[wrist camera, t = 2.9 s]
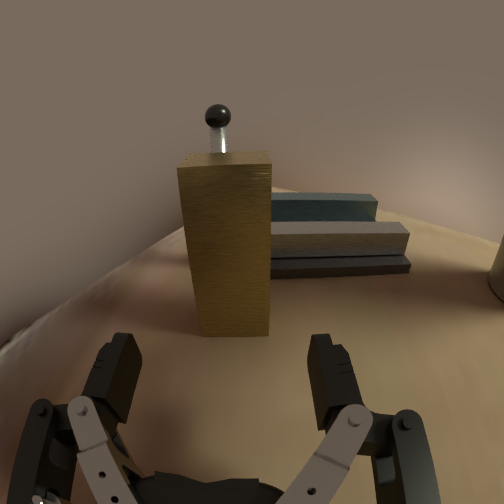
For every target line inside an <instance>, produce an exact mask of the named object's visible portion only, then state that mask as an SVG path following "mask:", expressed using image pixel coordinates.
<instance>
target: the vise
mask: <svg viewBox="0 0 504 504" xmlns="http://www.w3.org/2000/svg"><path fill="white" fill-rule="evenodd" d="M377 205H378V201H377V200H376V199H375V198H374V197H373V196H372V195H371V194H351V193H271V222H315V221H350V222H376V221H375V217H376V211H377ZM410 267H411V263H410V262H409V260H408V259H407V258H406V257H405V255H404V254H390V255H357V256H320V257H281V258H271V262H270V279H284V278H313V277H337V276H358V275H377V274H395V273H409V270H410Z"/></svg>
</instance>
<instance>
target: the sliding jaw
mask: <svg viewBox="0 0 504 504" xmlns="http://www.w3.org/2000/svg"><path fill="white" fill-rule="evenodd" d="M230 120H231V113H230V111H229V109H228V108H227V107H226V106H224V105H221V104H216V105H213V106H211V107H209V108H208V109H207V111H206V113H205V121H206V123H207V124H208V125H209V126H210V142H211V153H218V152H228V140H227V125H228V124H229V122H230ZM409 235H410V233H409V232H408V231H407V230H406V229H405V228H404V226H403V225H402V224H401V223H400V222H350V221H315V222H271V258H281V257H320V256H357V255H390V254H405V251H406V247H407V243H408V239H409Z"/></svg>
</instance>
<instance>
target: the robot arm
mask: <svg viewBox="0 0 504 504" xmlns="http://www.w3.org/2000/svg"><path fill="white" fill-rule="evenodd" d="M488 282H489V285H490V286H491V288H492V290H493V291H494V292H495V294H496V295H497V296H498V297H499V298H500V299H501V300H502V301H504V236H503V238H502V241H501V244H500V247H499V250H498V252H497V255H496V258H495V260H494V263H493V265H492V268H491V270H490V273H489V275H488ZM307 366H308V373H309V378H310V384H311V390H312V396H313V402H314V408H315V414H316V420H317V426H318V431H319V430H325V433H326V436H325V438H324V439H323V441H322V442H321V444H320V445H319V447H318V448H317V450H316V451H315V453H314V454H313V455H312V457H311V458H310V459H309V461H308V462H307V464H306V465H305V466H304V468H303V469H302V470H301V472H300V473H299V475H298V476H297V477H296V479H295V480H294V481H293V482H292V484H291V485H290V486H289V488H288V489H287V490H286V491H285V493H284V492H283V491H282V490H280V489H278V488H276V487H274V486H271V485H268V484H265V483H260V482H259V478H258V479H227V480H222V481H216V482H210V483H203V482H199V481H196V480H193V479H190V478H187V477H184V476H181V475H178V474H170V473H163V472H157V471H155V474H154V476H149V477H145V476H144V474H143V473H142V471H141V470H140V468H139V467H138V466H137V465H136V464H135V462H134V461H133V459H132V457H131V455H130V454H129V452H128V450H127V448H126V446H125V444H124V442H123V440H122V438H121V436H120V434H119V432H118V430H117V424H118V422H119V423H124V424H126V422H127V418H128V414H129V410H130V406H131V403H132V399H133V395H134V391H135V388H136V384H137V381H138V377H139V374H140V370H141V367H142V355H141V353H140V350H139V348H138V346H137V344H136V341H135V339H134V337H133V335H132V334H129V333H115V334H114V336H113V339H112V341H111V343H106V344H105V345H104V346H103V347H102V348H101V349H100V350H99V353H98V355H97V357H96V361H95V362H94V365H93V368H92V369H91V372H90V374H89V377H88V379H87V382H86V384H85V387H84V390H83V392H82V394H81V396H78V397H75V398H74V399H72V400H71V402H70V403H69V404H62V405H53V404H52V403H51V402H50V401H49V400H47V399H39V400H37V401H35V402H34V403H33V405H32V407H31V409H30V412H29V415H28V418H27V421H26V424H25V427H24V430H23V433H22V437H21V440H20V444H19V447H18V451H17V455H16V459H15V463H14V467H13V471H12V476H11V481H10V486H9V492H8V498H7V504H71V503H70V498H71V491H72V484H73V478H74V473H75V467H76V462H77V458H78V461H79V463H80V466H81V468H82V471H83V473H84V475H85V478H86V480H87V482H88V484H89V487H90V489H91V491H92V493H93V495H94V497H95V499H96V501H97V503H98V504H328V503H329V502H330V500H331V499H332V497H333V496H334V494H335V493H336V491H337V490H338V488H339V487H340V485H341V484H342V482H343V480H344V479H345V477H346V475H347V473H348V471H349V467H350V465H351V463H352V462H353V460H354V458H355V456H356V455H366V456H371V461H372V468H373V475H374V483H375V491H376V500H377V504H441V501H440V495H439V489H438V484H437V479H436V474H435V469H434V465H433V460H432V456H431V452H430V448H429V444H428V440H427V436H426V432H425V429H424V425H423V421H422V419H421V417H420V415H419V414H418V413H417V412H415V411H413V410H408V409H406V410H401V411H399V412H398V413H397V414H396V415H386V414H378V413H374V412H372V411H370V410H369V409H368V408H367V407H366V406H365V405H364V403H363V401H362V398H361V395H360V391H359V387H358V384H357V381H356V377H355V374H354V372H353V371H354V370H353V367H352V365H351V361H350V357H349V354H348V352H347V351H346V350H345V349H344V347H343V346H342V345H341V344H339V345H333V344H332V340H331V337H330V334H315V335H312V336H311V341H310V346H309V351H308V357H307Z"/></svg>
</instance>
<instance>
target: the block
mask: <svg viewBox="0 0 504 504" xmlns="http://www.w3.org/2000/svg"><path fill="white" fill-rule="evenodd" d="M271 167H272V164H271V161H270V158H269V155H268V152H267V151H245V152H244V151H243V152H218V153H202V154H190V155H189V156H188V157H187V158H186V159H185V160H184V161H183V162H182V163H181V164H180V165H179V166H178V167H177V175H178V184H179V193H180V201H181V209H182V217H183V224H184V231H185V238H186V245H187V252H188V258H189V264H190V270H191V276H192V282H193V288H194V294H195V299H196V305H197V310H198V315H199V320H200V325H201V330H202V335H203V337H255V336H269V306H270V262H271V174H272V171H271V169H272V168H271Z"/></svg>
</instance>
